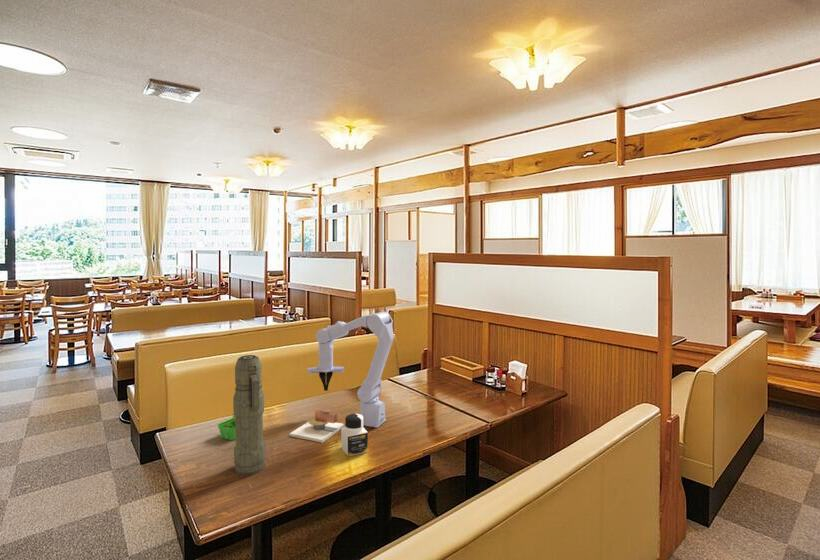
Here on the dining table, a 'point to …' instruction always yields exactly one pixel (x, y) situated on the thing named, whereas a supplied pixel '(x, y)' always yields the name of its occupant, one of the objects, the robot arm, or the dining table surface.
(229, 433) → the fruit basket
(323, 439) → the board
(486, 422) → the dining table surface
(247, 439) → the thermos
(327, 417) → the lever handle
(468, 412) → the dining table surface
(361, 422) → the medicine bottle
